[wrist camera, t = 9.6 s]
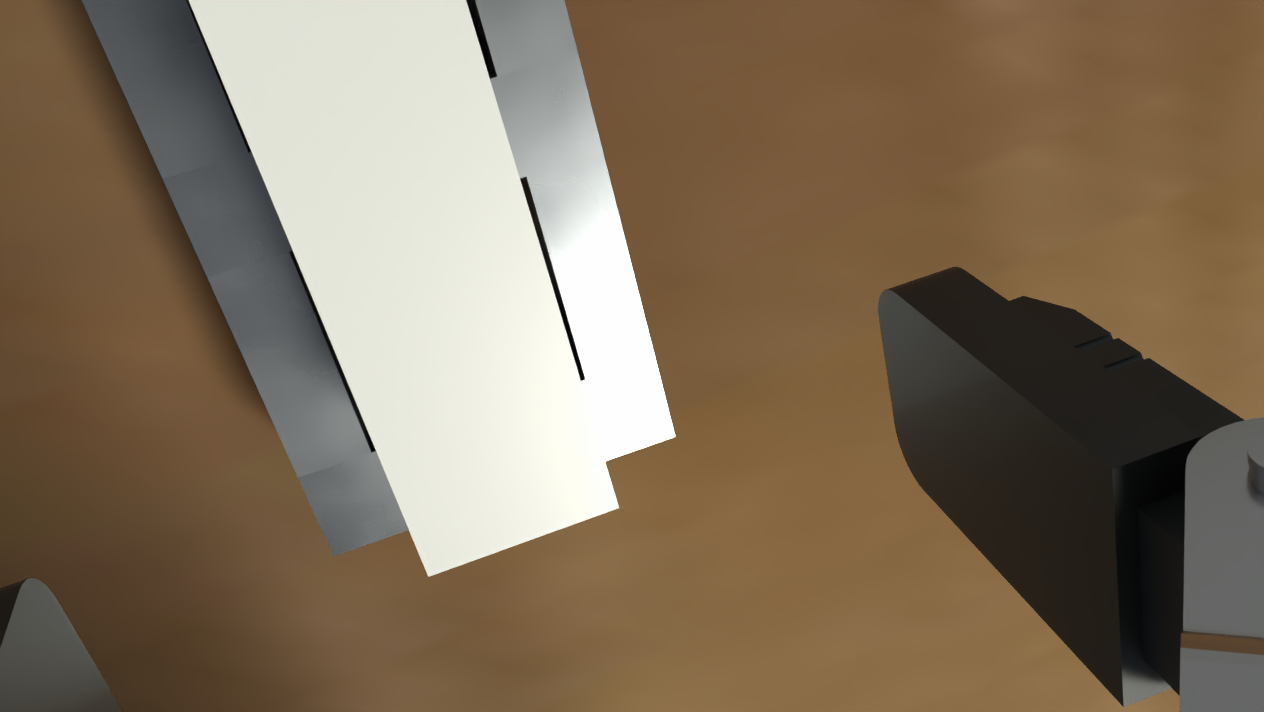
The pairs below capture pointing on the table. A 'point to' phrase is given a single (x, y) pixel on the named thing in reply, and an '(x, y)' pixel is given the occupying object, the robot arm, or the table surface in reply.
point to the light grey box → (418, 260)
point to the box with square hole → (276, 289)
